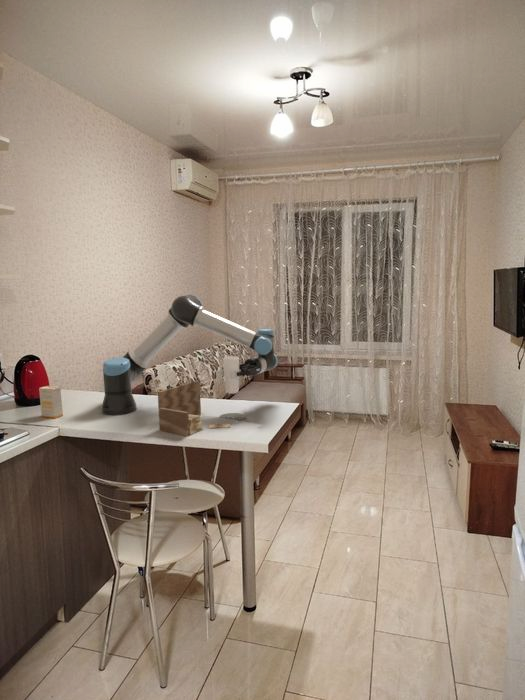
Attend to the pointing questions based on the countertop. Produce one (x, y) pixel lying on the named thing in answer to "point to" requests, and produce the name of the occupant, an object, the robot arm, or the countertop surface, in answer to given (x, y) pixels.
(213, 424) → the offcut flat
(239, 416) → the coaster
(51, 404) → the supplement box
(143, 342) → the robot arm
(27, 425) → the countertop surface
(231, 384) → the drinking glass
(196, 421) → the offcut upper
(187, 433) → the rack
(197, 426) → the offcut lower
